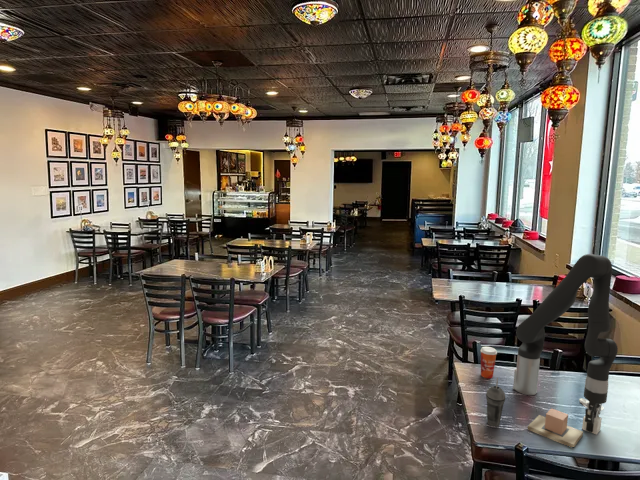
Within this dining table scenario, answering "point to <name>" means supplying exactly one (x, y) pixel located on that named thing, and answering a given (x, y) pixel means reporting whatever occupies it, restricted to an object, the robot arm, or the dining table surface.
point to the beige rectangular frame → (567, 438)
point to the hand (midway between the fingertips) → (591, 428)
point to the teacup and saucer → (587, 402)
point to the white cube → (596, 425)
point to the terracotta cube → (556, 421)
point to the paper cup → (487, 361)
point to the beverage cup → (494, 404)
